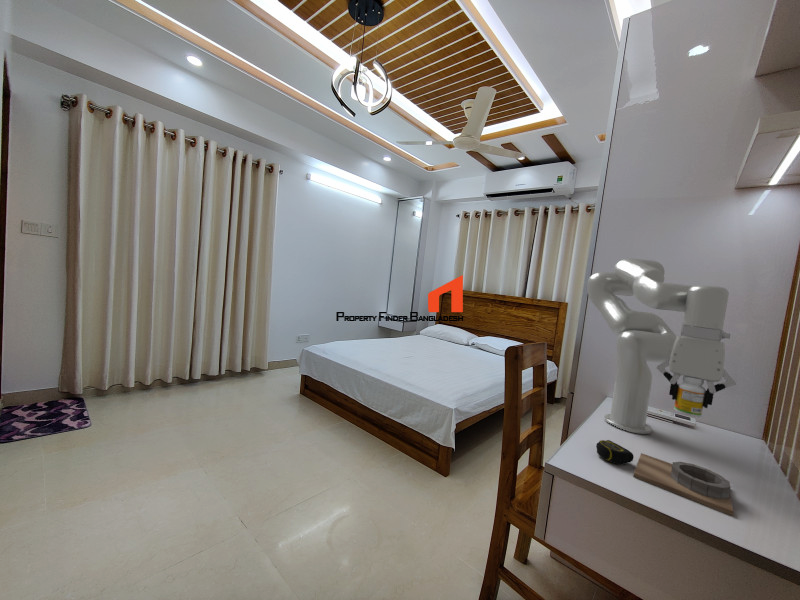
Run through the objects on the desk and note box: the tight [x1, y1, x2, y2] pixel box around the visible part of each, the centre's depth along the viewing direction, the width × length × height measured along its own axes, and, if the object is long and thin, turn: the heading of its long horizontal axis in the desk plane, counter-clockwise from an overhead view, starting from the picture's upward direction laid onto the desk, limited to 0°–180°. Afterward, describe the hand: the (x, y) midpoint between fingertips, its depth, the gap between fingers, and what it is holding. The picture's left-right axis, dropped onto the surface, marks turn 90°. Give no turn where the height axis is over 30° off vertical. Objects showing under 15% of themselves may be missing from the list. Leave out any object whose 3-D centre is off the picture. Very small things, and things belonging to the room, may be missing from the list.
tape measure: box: [596, 439, 635, 465], centre depth 81 cm, size 7×7×4 cm
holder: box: [633, 452, 734, 517], centre depth 73 cm, size 14×16×4 cm
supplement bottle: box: [673, 375, 707, 418], centre depth 82 cm, size 5×5×10 cm
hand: (689, 401), depth 82 cm, fingers closed on supplement bottle, 5 cm apart
